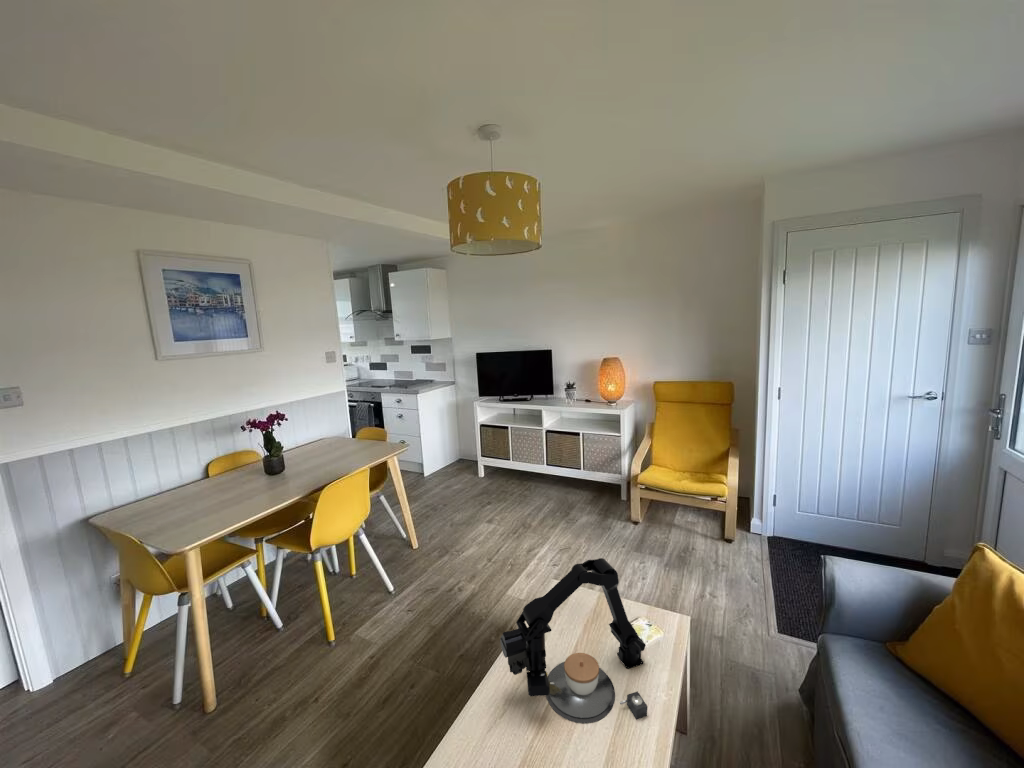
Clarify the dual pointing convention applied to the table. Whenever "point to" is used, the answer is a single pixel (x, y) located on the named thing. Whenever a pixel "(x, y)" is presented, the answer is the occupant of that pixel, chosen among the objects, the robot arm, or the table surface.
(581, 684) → the lidded jar
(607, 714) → the turntable base
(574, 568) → the robot arm
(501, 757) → the table surface
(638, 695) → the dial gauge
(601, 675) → the turntable
